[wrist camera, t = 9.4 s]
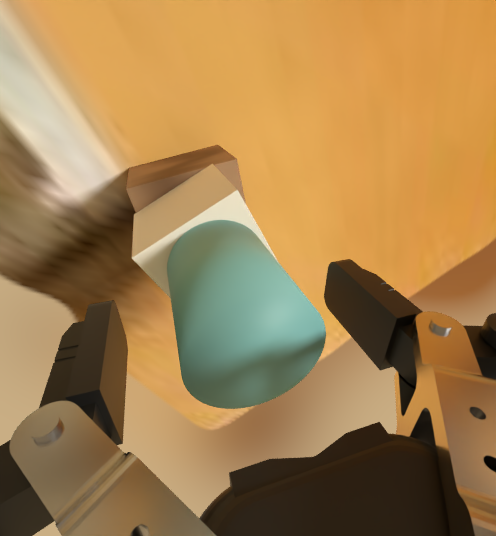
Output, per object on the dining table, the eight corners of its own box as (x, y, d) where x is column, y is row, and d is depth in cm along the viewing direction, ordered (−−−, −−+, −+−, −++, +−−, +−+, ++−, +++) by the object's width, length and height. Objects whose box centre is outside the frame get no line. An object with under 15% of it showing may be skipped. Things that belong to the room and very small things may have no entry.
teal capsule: (265, 213, 13) (334, 280, 8) (264, 297, 15) (318, 386, 10) (158, 227, 12) (169, 314, 7) (174, 315, 14) (191, 424, 9)
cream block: (212, 163, 16) (237, 189, 12) (253, 233, 19) (285, 274, 15) (133, 214, 16) (131, 257, 12) (187, 276, 19) (200, 328, 15)
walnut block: (217, 144, 20) (236, 159, 16) (235, 223, 23) (255, 252, 19) (129, 167, 19) (125, 189, 15) (161, 246, 23) (165, 281, 19)
